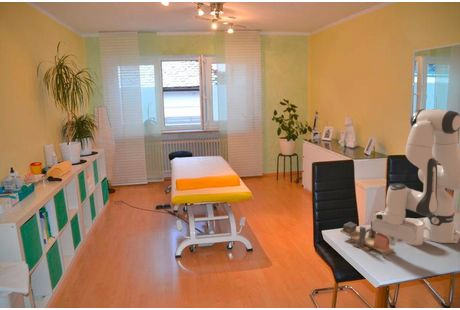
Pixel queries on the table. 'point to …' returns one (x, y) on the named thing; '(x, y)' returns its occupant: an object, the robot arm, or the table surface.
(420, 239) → the mug
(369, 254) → the table surface
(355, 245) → the stand
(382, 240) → the salmon red rectangular block
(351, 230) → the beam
